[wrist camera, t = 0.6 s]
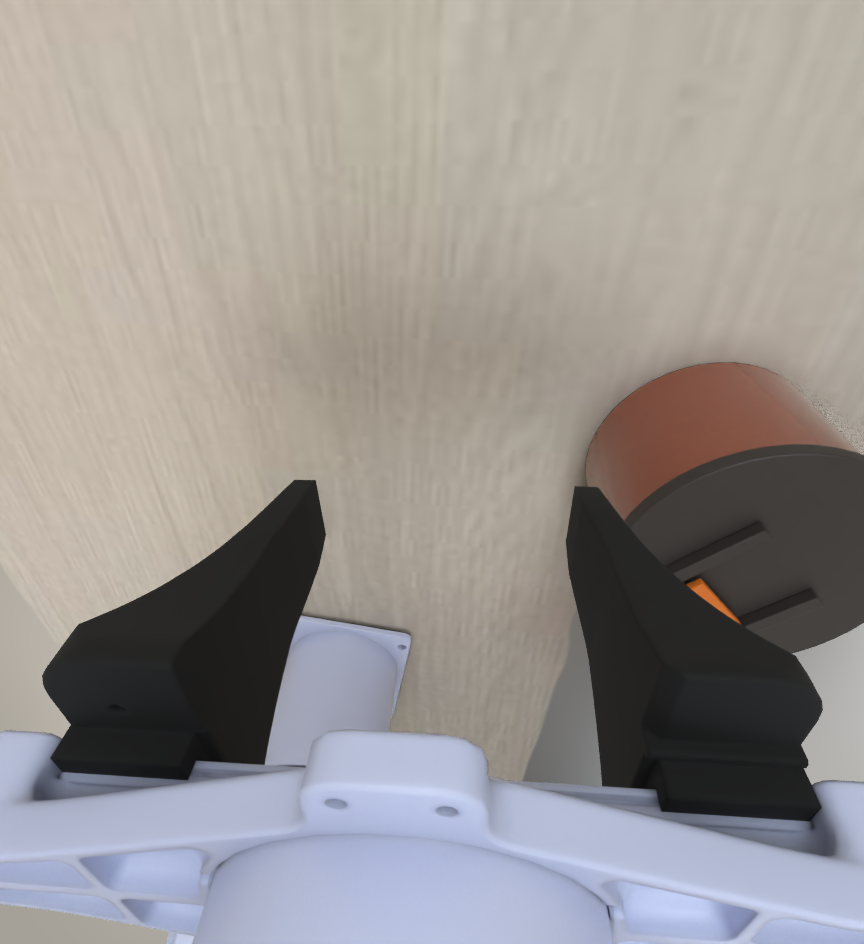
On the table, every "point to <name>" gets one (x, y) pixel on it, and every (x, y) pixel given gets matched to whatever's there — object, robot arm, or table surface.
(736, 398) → the lidded cup
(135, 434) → the table surface
